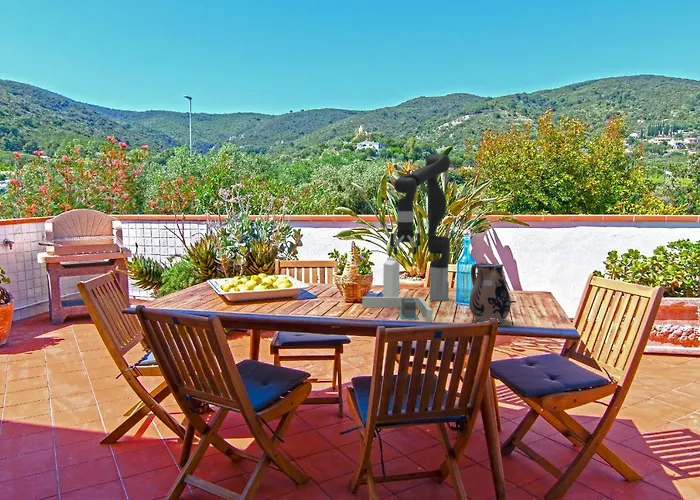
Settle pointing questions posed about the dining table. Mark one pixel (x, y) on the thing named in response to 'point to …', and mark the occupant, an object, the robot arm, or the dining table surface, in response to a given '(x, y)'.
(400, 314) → the pad
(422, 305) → the arena
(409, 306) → the bar
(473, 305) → the ceramic pitcher
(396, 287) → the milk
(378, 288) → the dining table surface
